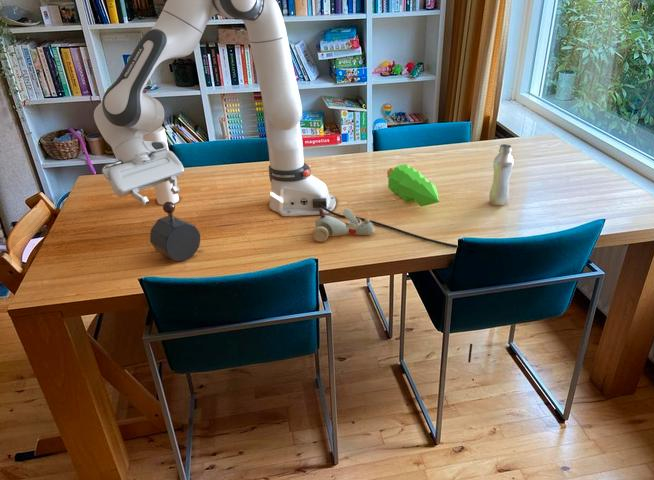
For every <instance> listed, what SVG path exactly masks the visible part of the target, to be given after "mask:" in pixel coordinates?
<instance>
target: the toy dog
mask: <svg viewBox="0 0 654 480" xmlns="http://www.w3.org/2000/svg"><path fill="white" fill-rule="evenodd" d="M319 212H320V216H318V217H317V218H316V220H315V228H314V229H313V231H312V235H313V239H314V240H315V241H317V242H320V243H323V242H326V241H327V240H328V238H329V237H339V236H345V235H348V234H349V235H351V236H354V235H359V236H371V235H373V233H374V232H375V226H374V224H373V223H371V222H369V220H370V219H369V218H364V219H365V221H362V220H360V219H358V218H356V217H357V216H356V215H355V214H354V212H353V210H352V209H350V208H344V210H343V211H342V213H343V214H342V215H344V216H345V217H346V218H345V219H347V220H348V221H346V222H343V221H341V220H340V219H338V218H336V217H334V216H331V215H326V214H324V212H323V210H322V209H321V208H320V209H319Z"/></svg>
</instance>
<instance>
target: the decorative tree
mask: <svg viewBox="0 0 654 480" xmlns="http://www.w3.org/2000/svg"><path fill="white" fill-rule="evenodd" d="M386 171H387V172H386V174H387V175H386V177H387V178H388V181H387V182H388V183H387V184H388V185H387V187H388V189H389V190H390V191H391V192H392V193H393V194H395V195H397V196H398V197H399V198H400V199H402V200H403V201H404V202H405V203H411V202H412V203H415V204H417V205H418V206H419V207H421V208H422V207H425V206H430V205H434V204H436V203H440V199H439V198H440V197H439V193H438V190H437V186H436V185H435V184H434V183H432V181H429V180H428V179H427V178H426V177H425V176H424V175H423V174H422V173H421V172H420V171H417V170H416V169H415V168H414V167H411V166H410V165H409V164H408V163H405V164H400V165H396V166H395V167H390V168H389V169H388V170H386Z"/></svg>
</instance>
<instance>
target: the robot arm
mask: <svg viewBox="0 0 654 480" xmlns="http://www.w3.org/2000/svg"><path fill="white" fill-rule="evenodd" d="M215 16H219V17H223V18H226V19H236V20H241V21H242V22H243V24H244V27H245V28H246V31H247V32H246V33H247V37H248V42H249V47H250V51H251V55H252V60H253V64H254V69H255V74H256V77H257V81H258V86H259V90H260V95H261V102H262V103H261V104H262V110H263V118H264V126H265V134H266V141H267V150H268V159H269V165H268V176H269V181H270V197H269V204H268V207H269V209H271V210H272V211H274V212H276V213H278V214H279V215H280V216H281V217H297V216H298V217H299V216H317V215H318V216H319V215H320V212H319V209H320V208H321V209H322V210H323V212H324V214H325V215H328V214H331V215H334V216H336V217H339V218H343V219H347V218H346V217H345V216H344V215H343V214H341V213H336V212H335V211H333V210H334V209H335V208H336V205H337V200H336V199H337V198H336V197H335V196H334V195H333V194H330V193H329V189H328V186H327V184H326V182H324V181H322V180H321V179H319V178H317V177H316V176H315V175H313V174H312V173H311V171H312V170H311V167H312V166H311V163H309V164H307V163H305V160H304V159H305V158H304V144H303V137H302V135H303V134H302V129H301V119H302V116H303V104H302V100H301V95H300V92H299V86H298V82H297V77H296V73H295V68H294V64H293V58H292V53H291V49H290V48H291V47H290V43H289V37H288V32H287V27H286V23H285V20H284V16H283V13H282V10H281V8H280V5H279V3H278V1H277V0H166V1H165V4H164V6H163V8H162V11H161V12H160V15H159V17H158V19H157V20H156V22H155V23H154V25H153V26H152V27H151V28H150V29H149V30H148V31H147V32H145V33H144V34H143V36H142V37H141V39H140V40H139V42H137V45H136V46H135V47H134V50H133V52H131V55H130V57H129V58H128V60H127V61H126V63H125V65H124V67H123V69H122V70H121V72H120V74H119V75H118V77H117V78H116V80H115V81H114V82H113V83H112V84H111V85H110V86H109V87H108V88H107V89H106V91H105V92H104V93H103V96H102V99H101V102H100V103H99V104H98V105H97V106H96V107H95V109H94V111H93V120H94V123H95V125H96V127H97V129H98V131H99V132H100V135H101V136H102V138H103V139H104V141H105V143H107V145H108V146H110V147H111V149H112V153H113V155H114V157H115V158H116V159H117V161H114V162H111V163H107V164H105V165H104V166H103V167H102V168H101V173H102V175H103V177H104V178H105V179H106V180H108V183H109V185H110V187H111V190H112V191H113V194H114V195H115V196H117V197H118V198H123V197H125V196H129V195H131V197H132V198H133V199H135V200H137V201H139V202H140V203H141V205H142V206H148V205H149V204H150V200H149V199H148V196H146V195H145V196H143V195H142V194H140V193H139V192H140V191H143V190H146V189H150V188H152V187H154V186H155V185H158V184H161V183H164V182H167V181H169V182H170V183H173V187H172V189H171V191H172V192H173V194H177V193H178V194H179V193H180V191H181V190H180V188H179V186H178V178H181V177H182V176H183V174H184V172H185V167H184V165H183V163H182V161H180V159H179V158H178V156H177V155H176V154H175V153H174V152H173V151H171V150H167V144H166V143H165V142H153V141H144V139H143V136H145V135H148V134H150V133H152V132H153V131H155V130H157V129H158V128H160V127H161V126H163V124H164V121H165V119H166V111H165V107H164V105H163V104H162V102H161V101H160V100H159V99H157V98H155V97H153V96H150V95H148V94H146V93H143V91H144V89H145V88H146V86H147V84H148V82H149V81H150V80H151V79H150V78H151V77H152V75H153V73H154V72H155V70H156V68H157V67H158V66H159V64H161V63H162V62H164V61H167V60H169V59H177V58H178V59H179V58H185V57H187V56H189V55H191V54H192V53H193V52H194V51H195V49H196V48H197V47H198V45H199V43H200V42H201V39H202V36H203V34H204V32H205V30H206V27H207V24H208V23H209V21H210V20H211V19H212V18H213V17H215ZM355 217H356V218H358V219H360V220H361V221H362V222H365V219H366V218H363V217H359V216H355ZM369 222H371V223H372V224H373V225H376V226H380V227H383V228H387V229H389V230H393V231H395V232H399V233H401V234H404V235H408V236H410V237H413V238H416V239H420V240H423V241H426V242H430V243H434V244H439V245H442V246H446V247H450V248H456V249H458V248H457V245H458V244H452V243H449V242H443V241H440V240H435V239H432V238H428V237H424V236H421V235H417V234H416V233H415V234H414V233H412V232H408V231H406V230H402V229H400V228H396V227H394V226H392V225H391V226H390V225H388V224H384V223H381V222H378V221H374V220H371V219H369ZM472 350H473V343H470V344H469V351H468V359H467V363H468V364H470V363H471V362H472V361H471V360H472Z"/></svg>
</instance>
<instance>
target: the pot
mask: <svg viewBox="0 0 654 480" xmlns="http://www.w3.org/2000/svg"><path fill="white" fill-rule="evenodd" d="M175 209H176V206H175V203H174V204H173V203H172V202H165V203H164V204H163V205H162V210H163V211H164V213H166V214H167V215H166V216H163V217H161V218H159V219H157V220H156V222H155V223H154V224H153V226H151V229H150V237H149V238H150V239H149V242H150V244H151V245H152V247H153V249H154V250H155V251H157V252H158V253H160V254H161V255H163V256H165V257H167V258H169V259H170V260H173V261H176V262H177V261H178V262H184V261H187V260H189V259H191V258H192V257H194V255H195V254H196V253H197V251H198V250H199V248H200V244H201V234H200V231H199V230H198V228H197V226H196V225H194V224H193V223H190V222H188V221H187V220H184V219H182V218H180V217H178V216H175V215H174V212H175Z"/></svg>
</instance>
